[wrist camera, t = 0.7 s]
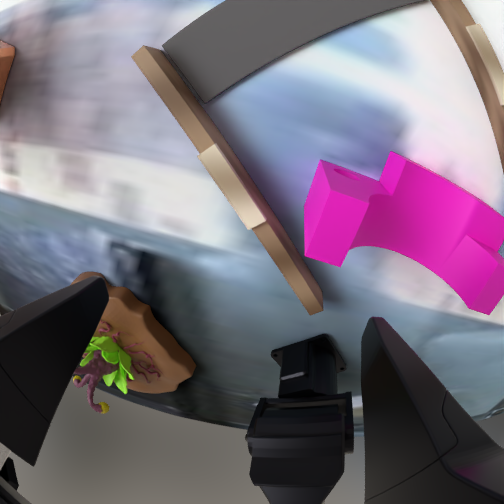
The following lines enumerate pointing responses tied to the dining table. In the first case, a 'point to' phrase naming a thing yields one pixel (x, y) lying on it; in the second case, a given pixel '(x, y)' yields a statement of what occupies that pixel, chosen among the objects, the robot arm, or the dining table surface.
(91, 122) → the dining table surface
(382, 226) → the toy block
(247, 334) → the dining table surface
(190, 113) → the lane rails
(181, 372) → the plant
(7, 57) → the whiskey bottle
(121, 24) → the dining table surface
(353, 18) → the trap mat
